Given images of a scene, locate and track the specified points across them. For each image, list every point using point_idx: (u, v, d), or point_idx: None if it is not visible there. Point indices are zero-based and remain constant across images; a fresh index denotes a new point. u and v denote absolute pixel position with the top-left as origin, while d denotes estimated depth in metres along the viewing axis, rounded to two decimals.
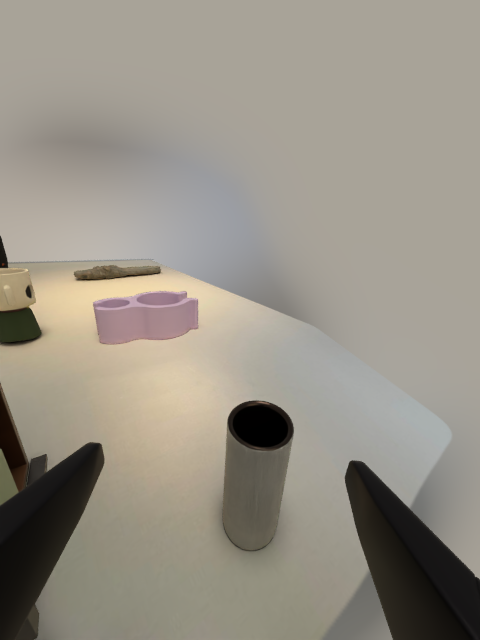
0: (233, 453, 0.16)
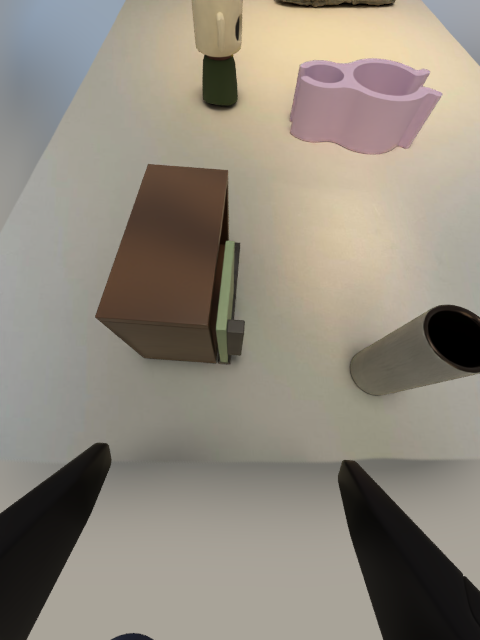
0: (411, 344, 0.16)
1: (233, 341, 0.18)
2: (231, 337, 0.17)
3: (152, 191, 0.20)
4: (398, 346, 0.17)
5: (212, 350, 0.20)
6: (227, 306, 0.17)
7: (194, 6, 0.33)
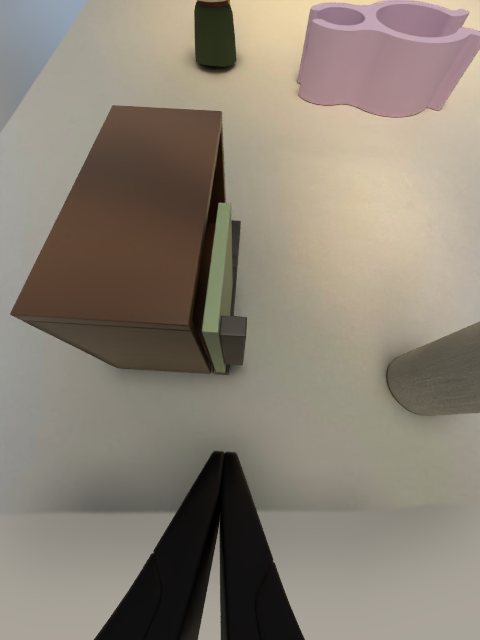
0: None
1: (230, 347, 0.12)
2: (227, 342, 0.12)
3: (115, 137, 0.14)
4: None
5: (202, 359, 0.15)
6: (220, 295, 0.11)
7: None
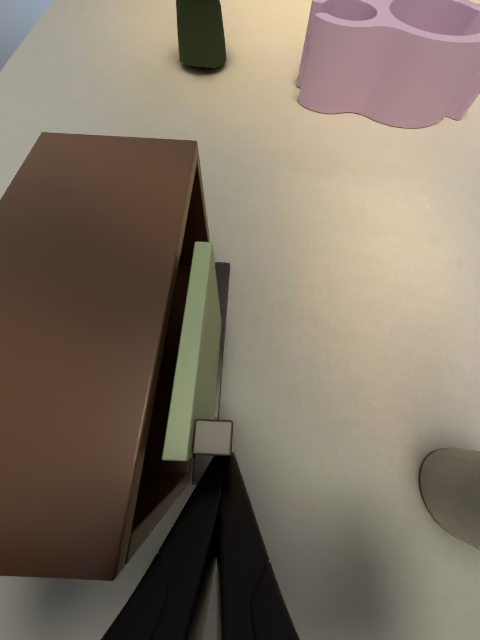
0: None
1: None
2: None
3: (37, 184, 0.10)
4: None
5: (170, 504, 0.10)
6: (192, 393, 0.07)
7: None
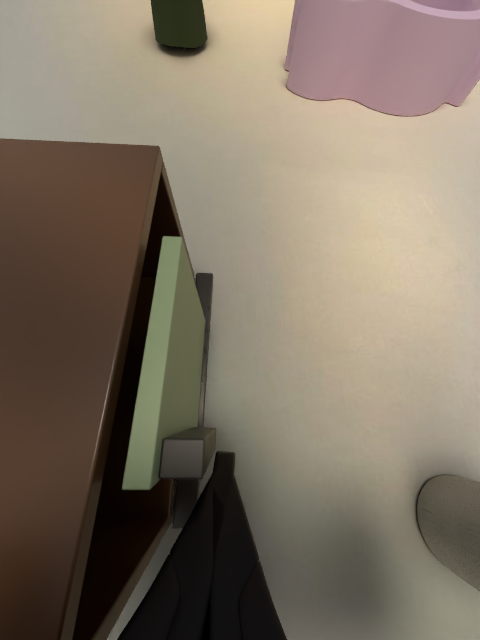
0: None
1: None
2: None
3: None
4: None
5: None
6: (157, 411, 0.07)
7: None
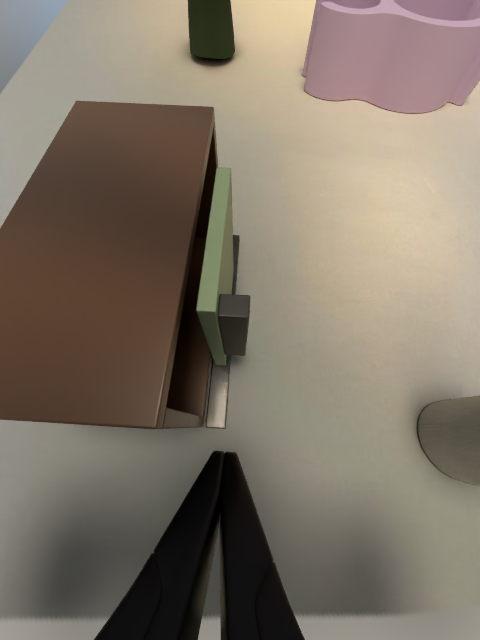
0: None
1: (231, 333, 0.11)
2: (227, 326, 0.10)
3: (75, 142, 0.11)
4: None
5: (189, 427, 0.11)
6: (218, 269, 0.09)
7: None
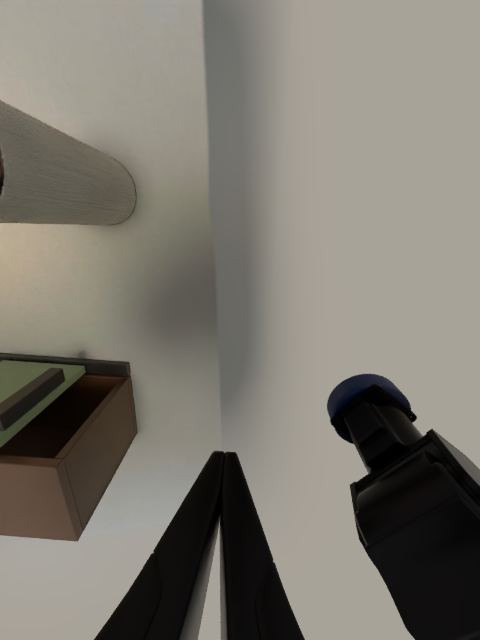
0: None
1: (26, 405, 0.16)
2: (16, 416, 0.16)
3: None
4: None
5: (106, 405, 0.19)
6: None
7: None
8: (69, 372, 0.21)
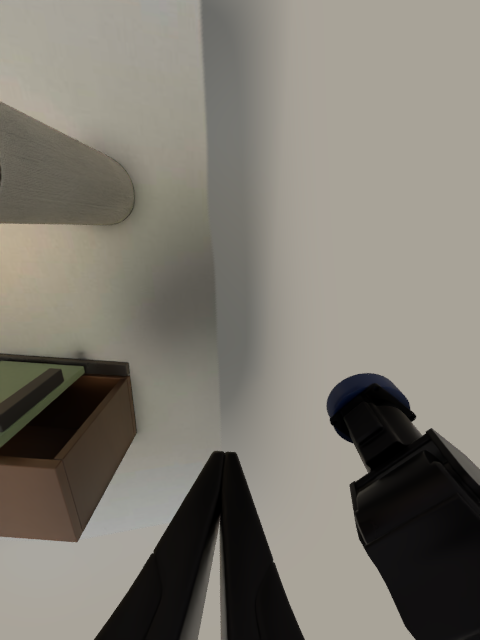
0: None
1: (25, 406, 0.16)
2: (14, 417, 0.16)
3: None
4: (16, 223, 0.11)
5: (105, 406, 0.19)
6: None
7: None
8: (68, 373, 0.21)
